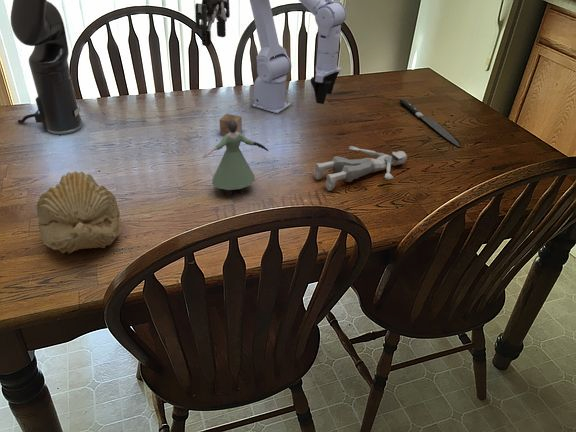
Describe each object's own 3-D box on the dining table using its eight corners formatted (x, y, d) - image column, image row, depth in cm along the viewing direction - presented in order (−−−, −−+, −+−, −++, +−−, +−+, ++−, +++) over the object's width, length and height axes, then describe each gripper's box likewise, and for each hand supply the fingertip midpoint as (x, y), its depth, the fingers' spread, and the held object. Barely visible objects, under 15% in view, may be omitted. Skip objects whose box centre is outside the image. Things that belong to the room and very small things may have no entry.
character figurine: (262, 174, 124) (263, 106, 114) (275, 191, 118) (277, 121, 108) (200, 186, 119) (194, 116, 108) (210, 205, 113) (205, 133, 102)
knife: (466, 148, 141) (467, 144, 140) (454, 149, 140) (456, 144, 139) (407, 101, 165) (409, 97, 164) (397, 101, 163) (398, 97, 163)
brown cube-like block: (220, 134, 141) (219, 119, 138) (226, 128, 144) (225, 113, 141) (235, 137, 140) (235, 122, 137) (242, 131, 143) (241, 116, 140)
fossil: (46, 277, 92) (24, 211, 83) (42, 224, 105) (23, 162, 96) (130, 258, 97) (117, 194, 89) (117, 209, 110) (105, 149, 101)
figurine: (340, 203, 116) (425, 179, 125) (342, 185, 112) (429, 162, 122) (304, 167, 128) (384, 148, 138) (305, 150, 125) (387, 131, 134)
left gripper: (212, -20, 114) (215, 51, 124) (238, -31, 125) (238, 35, 134) (183, -24, 116) (188, 46, 125) (210, -34, 127) (213, 31, 136)
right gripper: (335, 61, 129) (330, 110, 137) (348, 45, 140) (343, 91, 148) (309, 57, 130) (306, 105, 138) (324, 41, 142) (320, 87, 150)
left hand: (214, 41), depth 130 cm, fingers open, 8 cm apart
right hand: (323, 98), depth 143 cm, fingers open, 7 cm apart
